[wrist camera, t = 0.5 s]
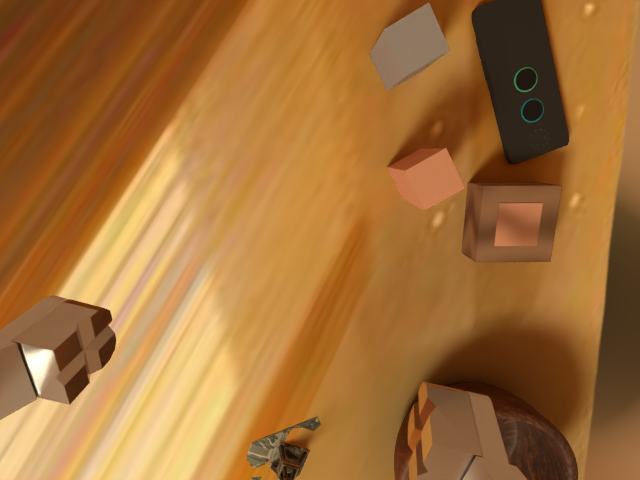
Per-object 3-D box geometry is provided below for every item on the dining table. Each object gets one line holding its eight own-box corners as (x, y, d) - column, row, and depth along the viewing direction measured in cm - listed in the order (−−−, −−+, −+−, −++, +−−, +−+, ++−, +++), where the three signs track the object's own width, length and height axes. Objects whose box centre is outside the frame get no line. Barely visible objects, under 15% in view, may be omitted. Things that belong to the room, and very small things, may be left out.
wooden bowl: (556, 458, 62) (603, 517, 52) (422, 517, 64) (442, 584, 54) (502, 340, 57) (543, 380, 47) (357, 408, 59) (367, 461, 49)
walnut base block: (467, 182, 51) (483, 185, 46) (538, 182, 51) (562, 185, 46) (460, 252, 54) (476, 262, 49) (528, 251, 54) (551, 261, 49)
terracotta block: (386, 167, 50) (404, 170, 40) (419, 148, 50) (446, 147, 40) (403, 199, 51) (424, 210, 42) (435, 181, 51) (464, 188, 41)
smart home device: (511, 166, 49) (472, 9, 45) (505, 165, 51) (466, 14, 47) (572, 143, 49) (539, -18, 44) (563, 143, 50) (531, -12, 46)
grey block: (369, 54, 47) (384, 29, 37) (404, 33, 46) (429, 2, 37) (387, 91, 48) (406, 75, 38) (421, 71, 47) (449, 50, 38)
